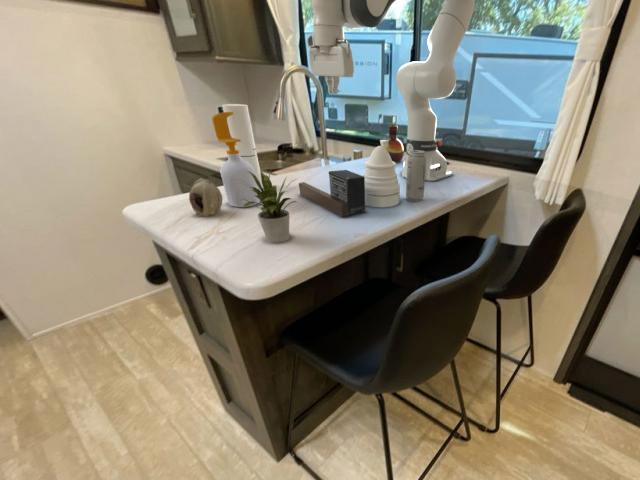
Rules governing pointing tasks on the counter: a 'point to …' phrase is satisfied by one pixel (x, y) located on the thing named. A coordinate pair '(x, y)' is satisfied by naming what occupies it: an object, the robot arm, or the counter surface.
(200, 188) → the round stone pot
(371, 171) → the honey pot
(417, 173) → the energy drink can
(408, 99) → the robot arm
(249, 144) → the cylindrical container
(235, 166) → the spray bottle
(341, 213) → the back rail
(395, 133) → the vase
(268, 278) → the counter surface
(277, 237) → the house plant
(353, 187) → the small box
